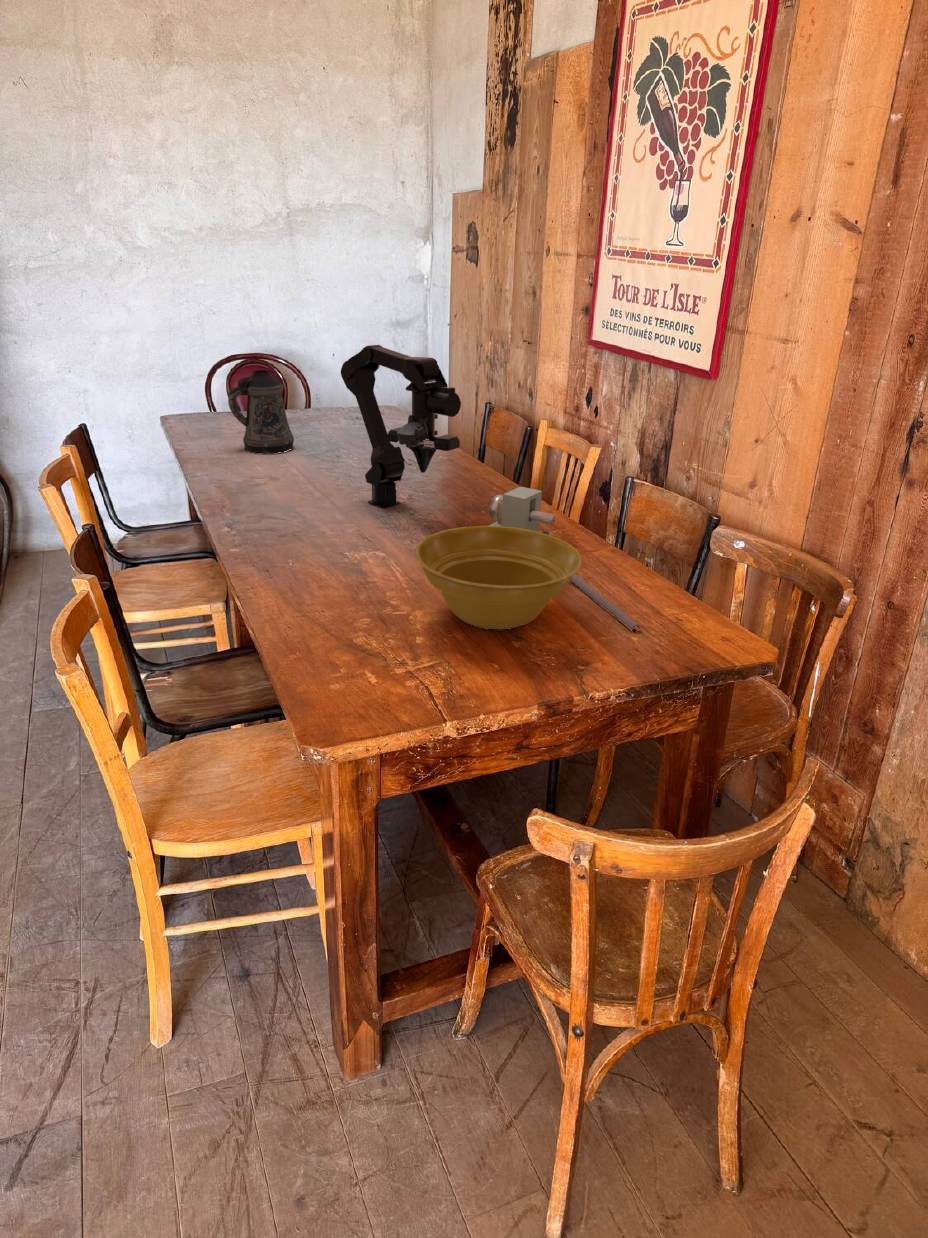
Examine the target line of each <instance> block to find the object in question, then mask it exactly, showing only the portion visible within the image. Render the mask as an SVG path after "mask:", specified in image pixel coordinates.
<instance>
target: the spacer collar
mask: <svg viewBox="0 0 928 1238" xmlns="http://www.w3.org/2000/svg"><path fill="white" fill-rule="evenodd" d="M502 504H503V501H501V502H499V511H498V519H497V521H498V523H501V521H502Z"/></svg>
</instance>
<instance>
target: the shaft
mask: <svg viewBox="0 0 928 1238" xmlns="http://www.w3.org/2000/svg"><path fill="white" fill-rule="evenodd" d="M501 501H503V494H496V495H494V497H492V499H491V503H490V506H489V515H490V516H491V517H490V518H492V519H495V520H498V511H499V502H501ZM529 519H531V520H535V521H539V522H540V523H545V524H549V525H554V524H555V521H556V515H555V514H552V513H549V512H543V511H541V510H540V511H536V510H531V509H529Z"/></svg>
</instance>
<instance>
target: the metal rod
mask: <svg viewBox="0 0 928 1238" xmlns="http://www.w3.org/2000/svg"><path fill="white" fill-rule="evenodd" d="M570 581H571V582H570V583H572V582H573V583H574V584H575V585H576V586H578V587H579V588H580V589H581V590H582V591H581V590H580V589H579V588H578V587H577V588H578V589H579V590H580V591H581V592H583V591H584V592H585V593H586V594H587V595H588V597H589V596H590V597H591V598H592V599H594V600H595V601H597V602H598V603H599V604H600V605H602V606H603V607H604V608H605V609H606V610H608V611H609V612H610V613H611V614H613V615H614V616H615V617H616V618H617V619H619V620H621V622H623V623H624V624H626V625H627V626H628V627H629V628H630V629H633V628H634V627H635V626H637V627H638V628H639V629H640V630H641V626H640V624H639V623H637V622H636V621H635V620H633V619H632V618H631V617H629V615H628V614H626V613H625V612H624V611H622V610H621V609H620V608H619V607H617V606H616V605H615V604H613V603H612V602H611V601H610V600H608V598H606V597H604V595H602V593H600V592H598V591H597V590H596V589H595V588H594V587H592V585H590V584H588V582H586V581H584V580H583V578H581V577H580V576H579V575H577V573H576V574H574V575H573V576H572V578H571V580H570ZM573 583H572V584H573ZM574 584H573V585H574ZM575 585H574V586H575ZM576 586H575V587H576ZM584 592H583V593H584ZM585 593H584V594H585ZM586 594H585V595H586ZM587 595H586V596H587ZM590 597H589V598H590ZM591 598H590V599H591ZM592 599H591V600H592ZM595 601H594V602H595ZM600 605H599V606H600ZM606 610H605V611H606ZM617 619H616V620H617ZM633 630H634V629H633Z"/></svg>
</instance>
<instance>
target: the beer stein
mask: <svg viewBox="0 0 928 1238" xmlns="http://www.w3.org/2000/svg"><path fill="white" fill-rule="evenodd" d="M283 390H284V385H283V383H282V382H280V381H279V379H277V378H275V377H274V376H272V375H271V373H270V370H263V369H262V370H255V371H252V374H251V375H249V376H246V377H241V378H240V379H238V381H237V386H235V387H233V388H231V389H230V391H229V393H228V394H229V395H228V398H227V399H228V401H227V402H228V407H229V410H230V411H231V413H232V415H233V416H234V417H235V418H236V420H238V422H239V423H240V424H242V425H243V426H244V427H245V431H244V435H243V438H242V442H243V444H244V449H245V451H247V450H248V451H250V452H249V453H252V452H255V453H254V454H257V453H278V452H284V451H287V450H289V449H292V448H294V441H295V437H294V434H293V433H292V431H291V428H290V425H289V421H288V418H287V414H286V409H285V403H284V399H283ZM239 396H247V400H246V401H247V402H246V416H245V415H244V414H243V413H242V412H241V411H240V409H239V407H238V406H237V403H236V401H237V398H238V397H239ZM292 450H293V449H292ZM248 451H247V452H248ZM278 454H279V453H278Z"/></svg>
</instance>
